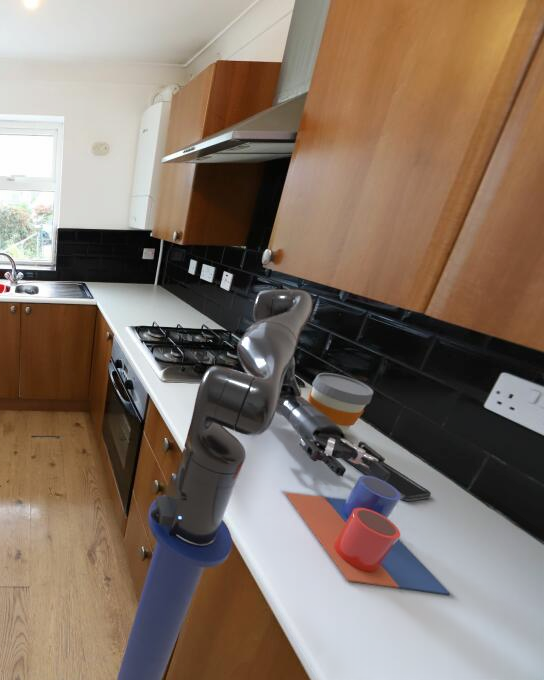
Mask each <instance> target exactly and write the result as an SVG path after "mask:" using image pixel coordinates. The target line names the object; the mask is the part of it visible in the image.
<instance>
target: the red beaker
mask: <svg viewBox="0 0 544 680" xmlns="http://www.w3.org/2000/svg"><path fill="white" fill-rule="evenodd" d="M400 537H401V531H400V530H399V528H398V527H397V525H396V524H395V523H394V522H393V521H392V520H390V519H389V518H388V519H387V518H386V517H384V516H383V515H381V514H379V513H377V512H375V511H372V510H369V509H366V508H355V509H354V510H353V511H352V513H351V515H350V517H349V518H348V520H347V522H346V524H345V525H344V527H343V529H342V531H341V532H340V534H339V536H338V537H337V539H336V541H335V543H334V548H335V550H336V552H337V553H338V554H339V556H340V557H341V558H342V559H343V560H345V561H346V562H347V563H348V564H350V565H351V566H353V567H355V568H357V569H359V570H362V571H365V572H376V571H377V570H378V568H379V567H380V565H381V564H382V562H383V561H384V560H385V558H386V557H387V555H388V554H389V552H390V551H391V549H392V548H393V546H394V545H395V543H396V542H397V540H398V539H399V540H400Z"/></svg>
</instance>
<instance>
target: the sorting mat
mask: <svg viewBox="0 0 544 680" xmlns="http://www.w3.org/2000/svg"><path fill="white" fill-rule="evenodd" d="M285 495H286V496H287V498H288V499H289V501H290V502H291V504H292V505H293V507H294V508H295V509H296V510H297V512H298V513H299V515H300V516H301V517H302V519H303V520H304V522H305V523H306V524H307V526H308V528H309V529H310V530H311V531H312V533H313V535H314V536H315V537H316V539H317V540H318V541H319V543H320V544H321V545H322V547H323V548H324V549H325V551H326V552H327V554H328V555H329V557H330V558H331V559H332V561H333V562H334V563H335V565H336V566H337V568H338V569H339V571H340V572H341V573H342V575H343V576H344V577H345V579H346V580H347V581H348V582H350V583H356V584H365V585H374V586H381V587H388V588H395V589H401V590H402V589H403V590H408V591H409V590H410V591H417V592H425V593H433V594H437V595H438V594H439V595H446V596H450V594H451V593H450V591H448V589H447V588H445V586H444V585H443V584H442V583H441V582H440V581H439V580H438V579H437V578H436V576H434V575H433V574H432V573H431V572H430V571H429V570H428V568H427V567H426V566H424V564H423V563H422V562H421V561H420V560H419V559H418V558H417V557H416V556H415V555H414V553H412V551H410V549H408V547H407V546H405V544H404V543H403V542H402V541H401V540H400V538H399V539H398V540H397V542H396V543H395V545H394V546H393V548H392V549H391V551H390V552H389V554H388V555H387V557H386V558H385V560H384V561H383V562H382V564H381V565H380V567H379V568H378V570H377V571H376V572H365V571H362V570H359V569H357V568H355V567H353V566H351V565H350V564H348V563H347V562H346V561H345V560H343V559H342V558H341V557H340V556H339V554H338V553H337V552H336V550H335V548H334V543H335V541H336V539H337V537H338V536H339V534H340V532H341V531H342V529H343V527H344V525H345V524H346V522H347V520H348V519H347V518H346V517H345V516H344V515H343V513H342V507H343V505H344V504H345V502H346V500H347V499H343V498H335V497H328V496H327V497H326V496H319V495H310V494H302V493H293V492H285Z"/></svg>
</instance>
